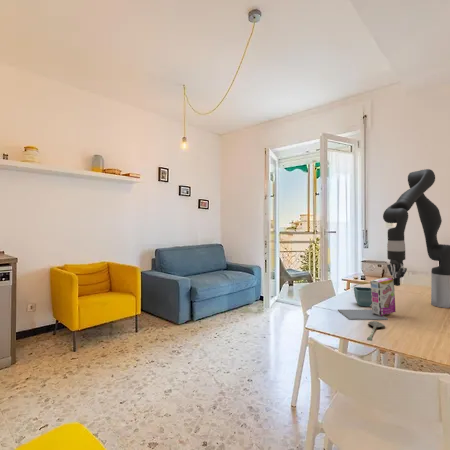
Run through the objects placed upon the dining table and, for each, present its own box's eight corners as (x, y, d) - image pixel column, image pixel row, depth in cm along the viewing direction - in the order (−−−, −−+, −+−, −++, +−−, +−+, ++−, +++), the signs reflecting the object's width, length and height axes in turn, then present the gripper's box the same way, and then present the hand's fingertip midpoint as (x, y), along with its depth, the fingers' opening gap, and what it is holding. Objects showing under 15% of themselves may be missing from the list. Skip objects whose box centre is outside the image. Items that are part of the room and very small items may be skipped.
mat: (373, 310, 149) (373, 309, 149) (388, 320, 135) (388, 318, 135) (337, 310, 149) (337, 309, 149) (349, 319, 135) (349, 318, 135)
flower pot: (375, 308, 154) (375, 291, 154) (357, 307, 156) (357, 290, 156) (370, 303, 163) (370, 287, 163) (353, 302, 164) (353, 286, 164)
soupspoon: (386, 328, 128) (369, 325, 132) (385, 320, 128) (369, 318, 132) (378, 343, 110) (359, 339, 114) (378, 334, 110) (359, 331, 114)
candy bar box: (381, 316, 138) (378, 281, 137) (371, 314, 142) (369, 280, 142) (396, 312, 142) (394, 278, 142) (387, 309, 147) (384, 277, 147)
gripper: (412, 251, 135) (413, 288, 135) (396, 248, 148) (396, 282, 148) (396, 251, 135) (397, 288, 135) (381, 248, 148) (381, 282, 148)
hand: (396, 285), depth 142 cm, fingers closed
